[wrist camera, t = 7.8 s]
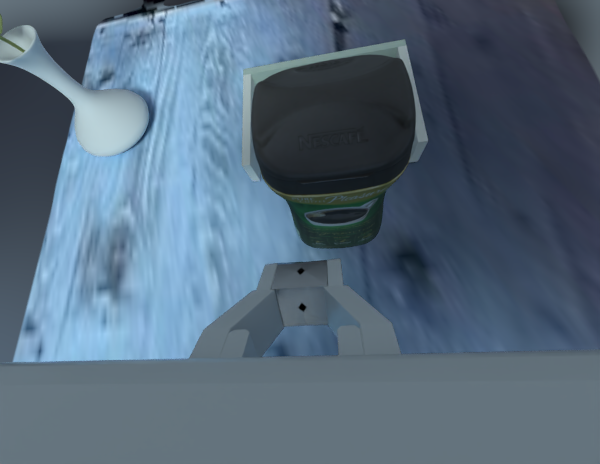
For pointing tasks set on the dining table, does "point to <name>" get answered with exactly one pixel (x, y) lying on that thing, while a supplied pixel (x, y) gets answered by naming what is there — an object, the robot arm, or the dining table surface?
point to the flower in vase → (81, 97)
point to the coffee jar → (335, 143)
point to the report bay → (263, 72)
